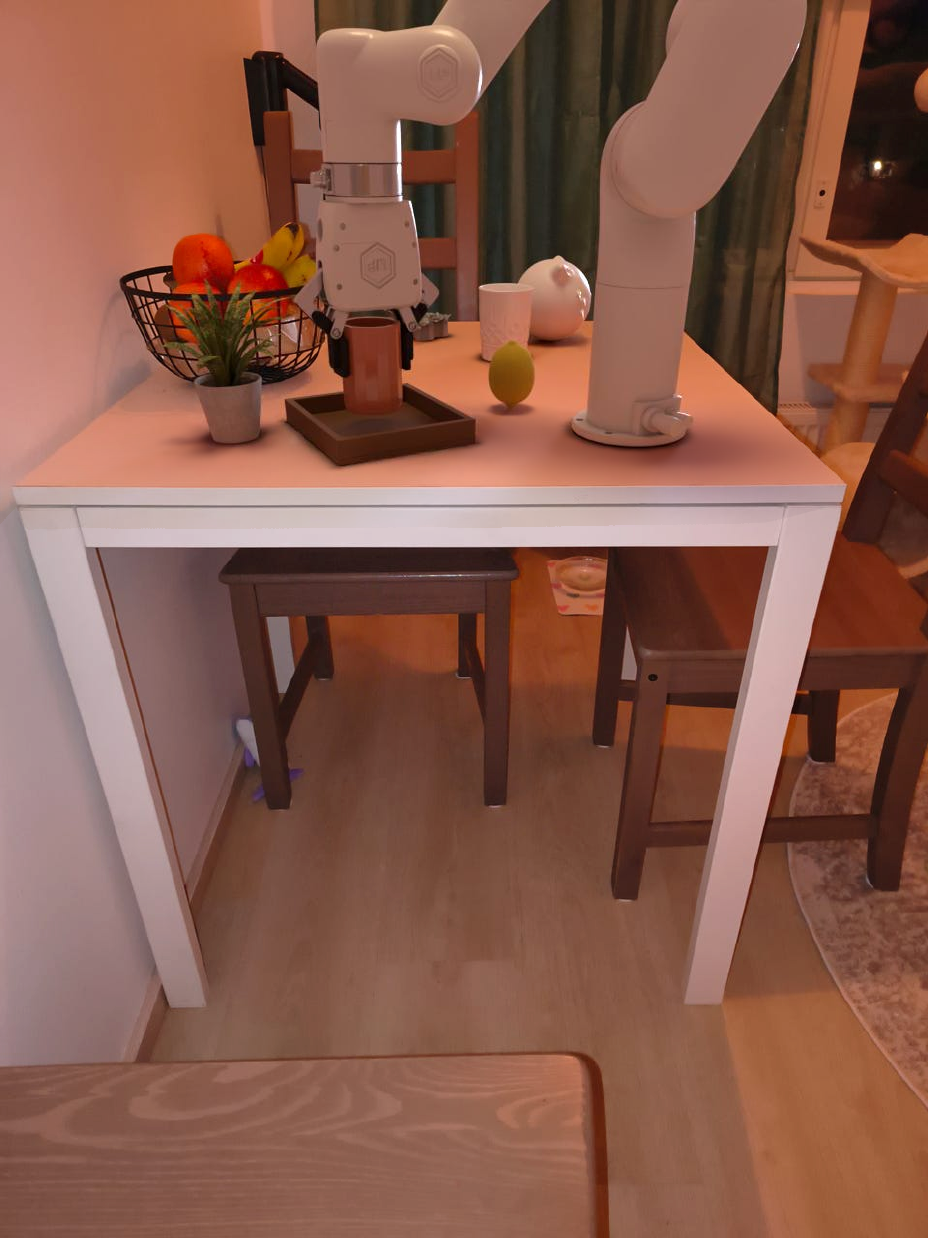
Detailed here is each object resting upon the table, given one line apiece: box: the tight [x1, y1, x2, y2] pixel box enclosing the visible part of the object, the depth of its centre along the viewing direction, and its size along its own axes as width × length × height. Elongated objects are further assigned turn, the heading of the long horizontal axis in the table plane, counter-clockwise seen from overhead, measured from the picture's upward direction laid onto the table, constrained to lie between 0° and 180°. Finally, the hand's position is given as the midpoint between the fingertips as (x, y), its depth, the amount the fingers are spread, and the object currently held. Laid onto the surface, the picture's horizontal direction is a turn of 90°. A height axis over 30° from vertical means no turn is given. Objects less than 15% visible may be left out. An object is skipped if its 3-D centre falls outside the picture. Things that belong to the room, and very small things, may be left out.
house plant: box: [161, 278, 294, 444], centre depth 86 cm, size 14×14×16 cm
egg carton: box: [382, 309, 453, 342], centre depth 139 cm, size 11×8×4 cm
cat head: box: [517, 255, 592, 342], centre depth 133 cm, size 15×13×12 cm
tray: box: [284, 382, 477, 467], centre depth 92 cm, size 18×16×3 cm
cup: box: [342, 316, 403, 415], centre depth 89 cm, size 6×6×9 cm
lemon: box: [488, 341, 536, 409], centre depth 99 cm, size 6×6×8 cm
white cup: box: [478, 282, 533, 362], centre depth 122 cm, size 8×8×10 cm
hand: (372, 369), depth 89 cm, fingers closed on cup, 6 cm apart
